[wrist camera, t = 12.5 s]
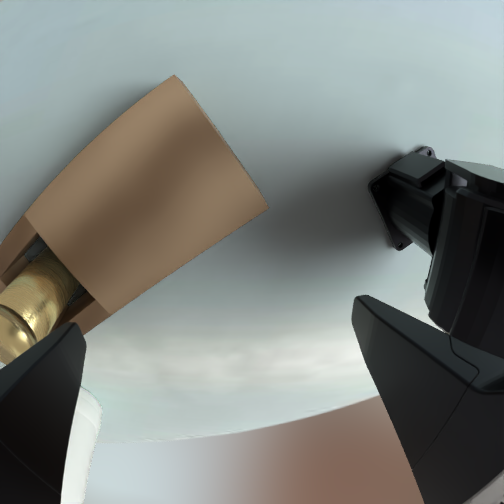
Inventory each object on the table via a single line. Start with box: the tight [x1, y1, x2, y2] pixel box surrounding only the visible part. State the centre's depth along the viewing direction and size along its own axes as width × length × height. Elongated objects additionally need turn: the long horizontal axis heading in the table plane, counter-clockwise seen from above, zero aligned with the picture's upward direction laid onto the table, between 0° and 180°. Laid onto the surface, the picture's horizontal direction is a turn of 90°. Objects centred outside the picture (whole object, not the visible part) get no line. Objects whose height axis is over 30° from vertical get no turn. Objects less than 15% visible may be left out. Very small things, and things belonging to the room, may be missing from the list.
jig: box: [0, 75, 269, 335], centre depth 19 cm, size 9×20×4 cm, turn 123°
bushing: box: [0, 246, 80, 365], centre depth 17 cm, size 4×4×10 cm
